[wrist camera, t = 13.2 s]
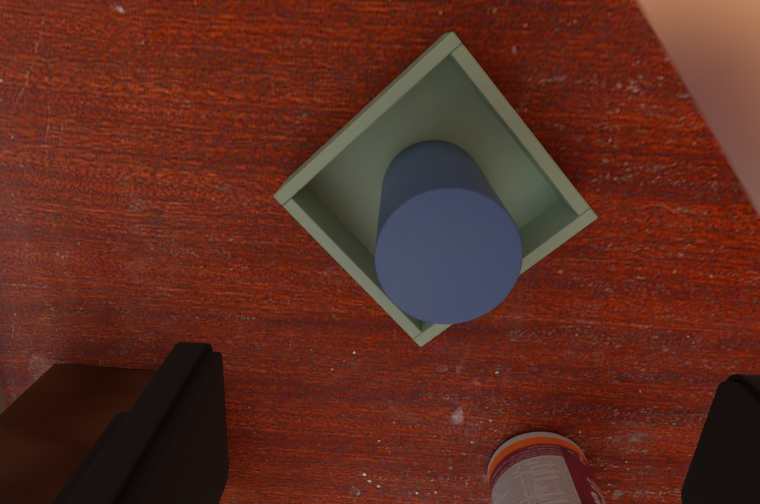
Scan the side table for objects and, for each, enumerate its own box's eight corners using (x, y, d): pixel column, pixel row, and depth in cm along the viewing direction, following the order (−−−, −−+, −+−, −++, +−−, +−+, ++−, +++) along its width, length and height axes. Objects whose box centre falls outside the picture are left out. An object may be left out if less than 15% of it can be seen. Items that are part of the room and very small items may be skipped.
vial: (361, 185, 26) (343, 252, 18) (439, 117, 25) (460, 155, 17) (425, 256, 27) (438, 350, 19) (503, 195, 26) (553, 266, 18)
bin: (287, 177, 27) (272, 196, 23) (445, 32, 24) (452, 30, 21) (418, 313, 29) (420, 347, 26) (573, 196, 27) (598, 217, 23)
